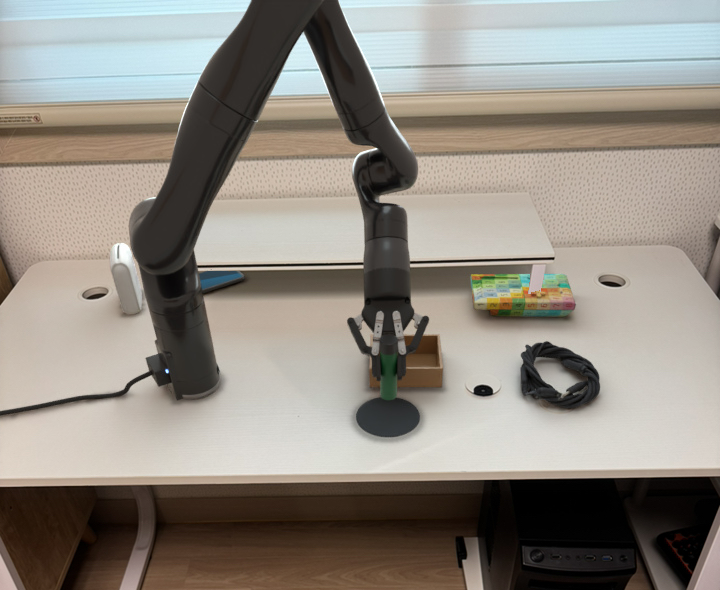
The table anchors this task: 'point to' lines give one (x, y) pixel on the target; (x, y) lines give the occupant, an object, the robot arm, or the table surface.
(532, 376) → the cable
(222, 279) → the smartphone
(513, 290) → the puzzle game
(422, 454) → the table surface
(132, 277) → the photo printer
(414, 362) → the box
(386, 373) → the glue stick
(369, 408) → the coaster
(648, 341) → the table surface
